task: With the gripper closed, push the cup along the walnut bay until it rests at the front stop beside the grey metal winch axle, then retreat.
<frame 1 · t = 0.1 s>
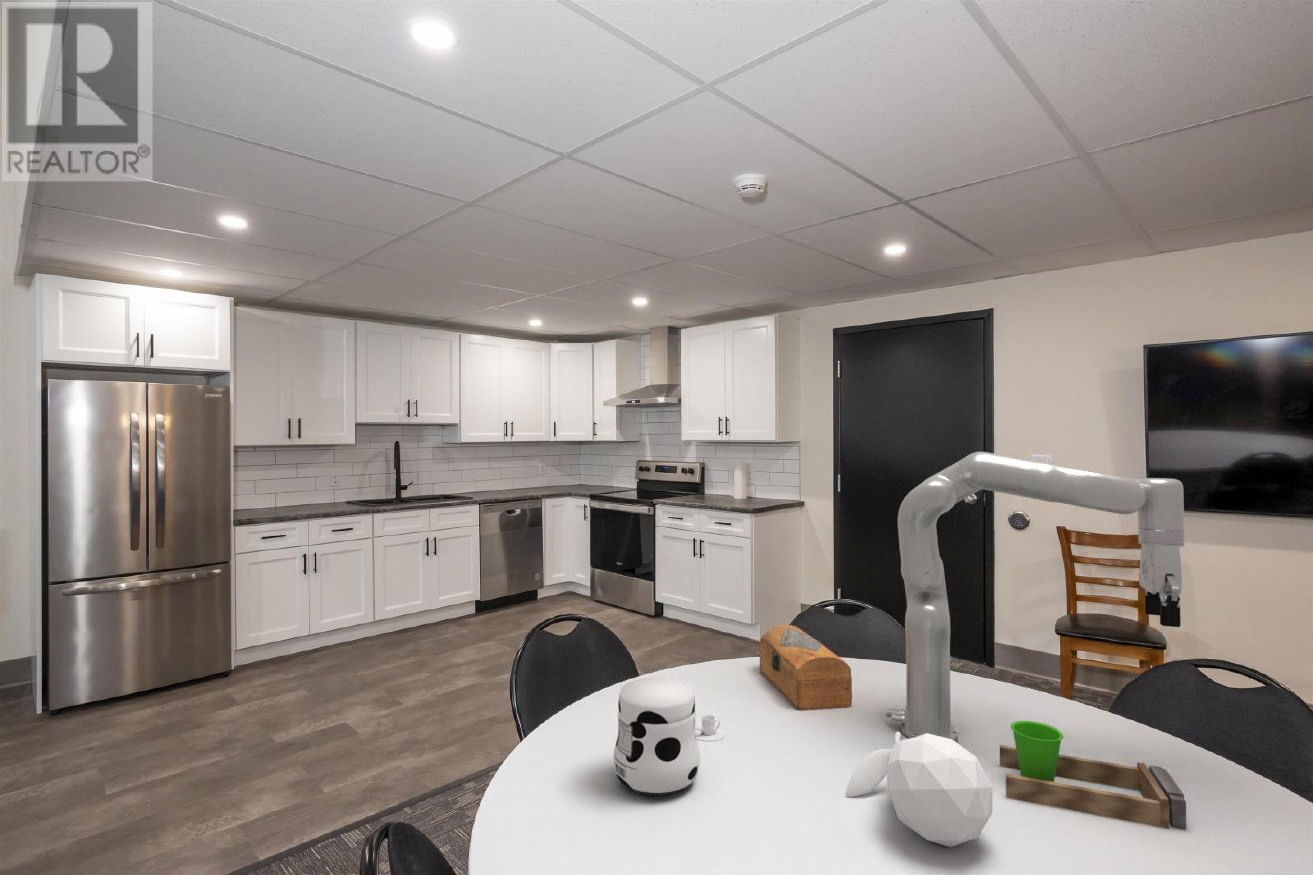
hand: (1162, 620, 133), 31 cm above the table, fingers open, 9 cm apart
wooden box: (800, 689, 180), on the table
bay: (1072, 792, 125), on the table
milk container: (656, 781, 129), on the table
cup: (1037, 787, 127), on the table
teacup and saucer: (700, 731, 153), on the table
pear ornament: (916, 820, 116), on the table
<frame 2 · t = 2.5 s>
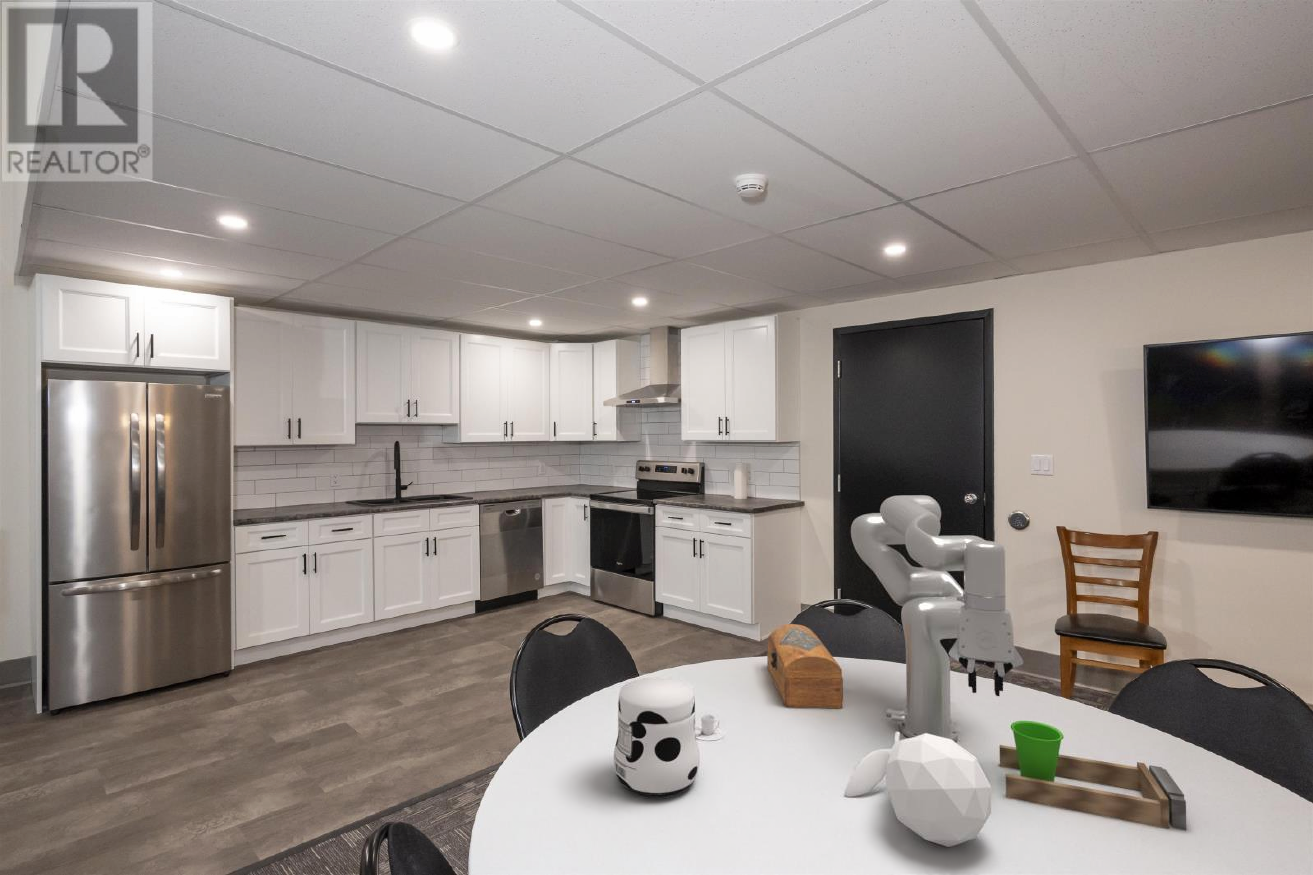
hand: (985, 691, 131), 17 cm above the table, fingers open, 3 cm apart
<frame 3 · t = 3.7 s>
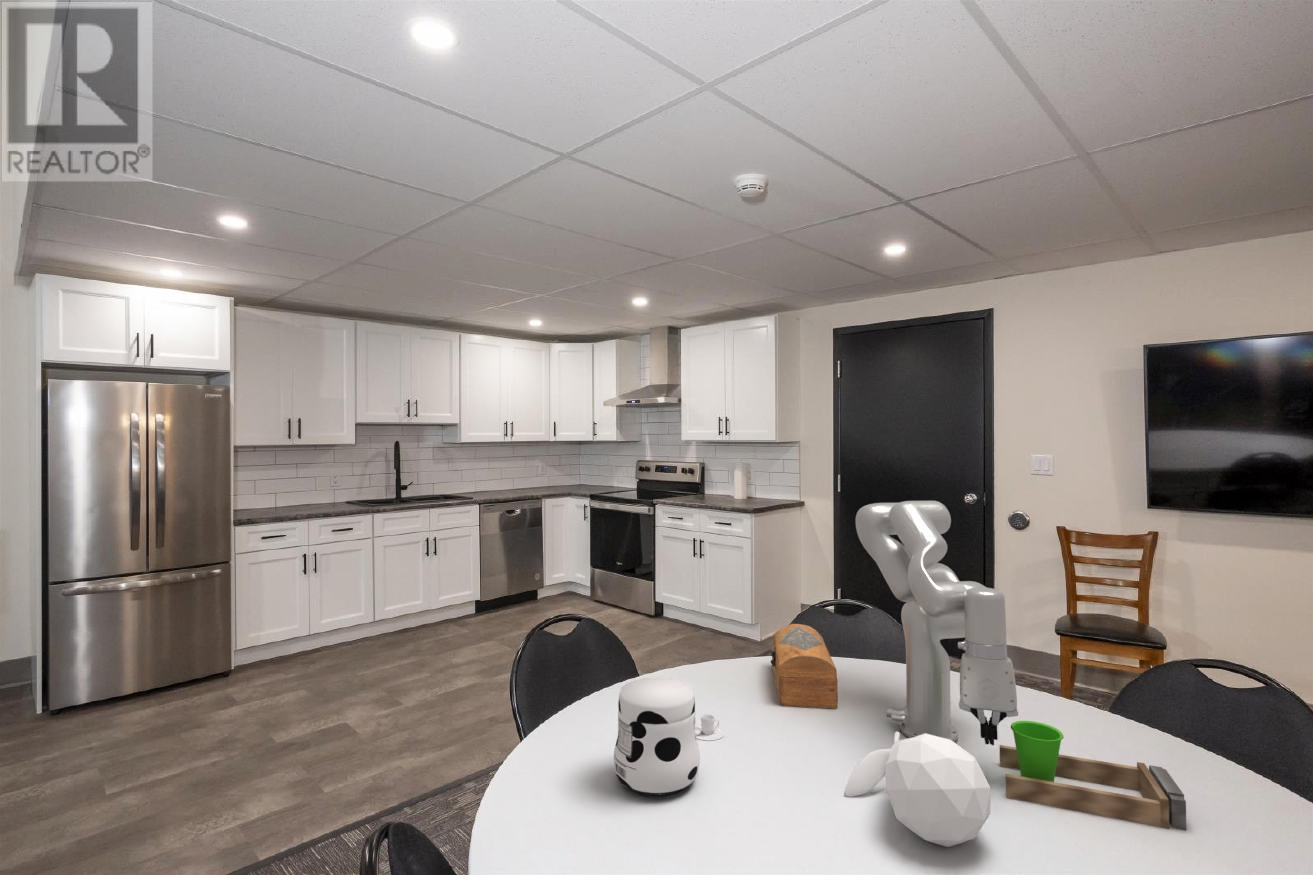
hand: (989, 742, 130), 7 cm above the table, fingers closed
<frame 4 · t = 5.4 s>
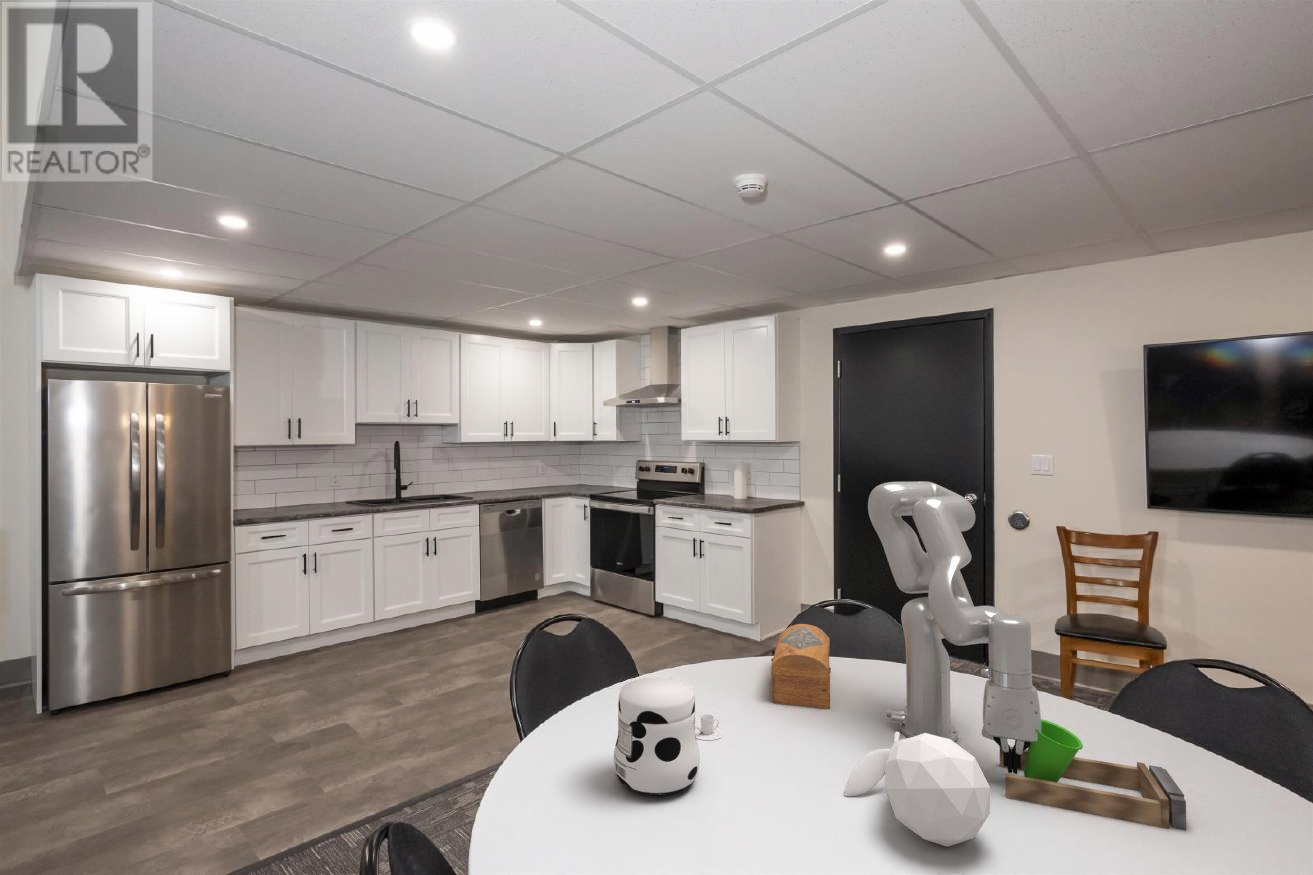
hand: (1012, 770, 129), 2 cm above the table, fingers closed
cup: (1037, 783, 127), point 1 cm above the table, touching gripper
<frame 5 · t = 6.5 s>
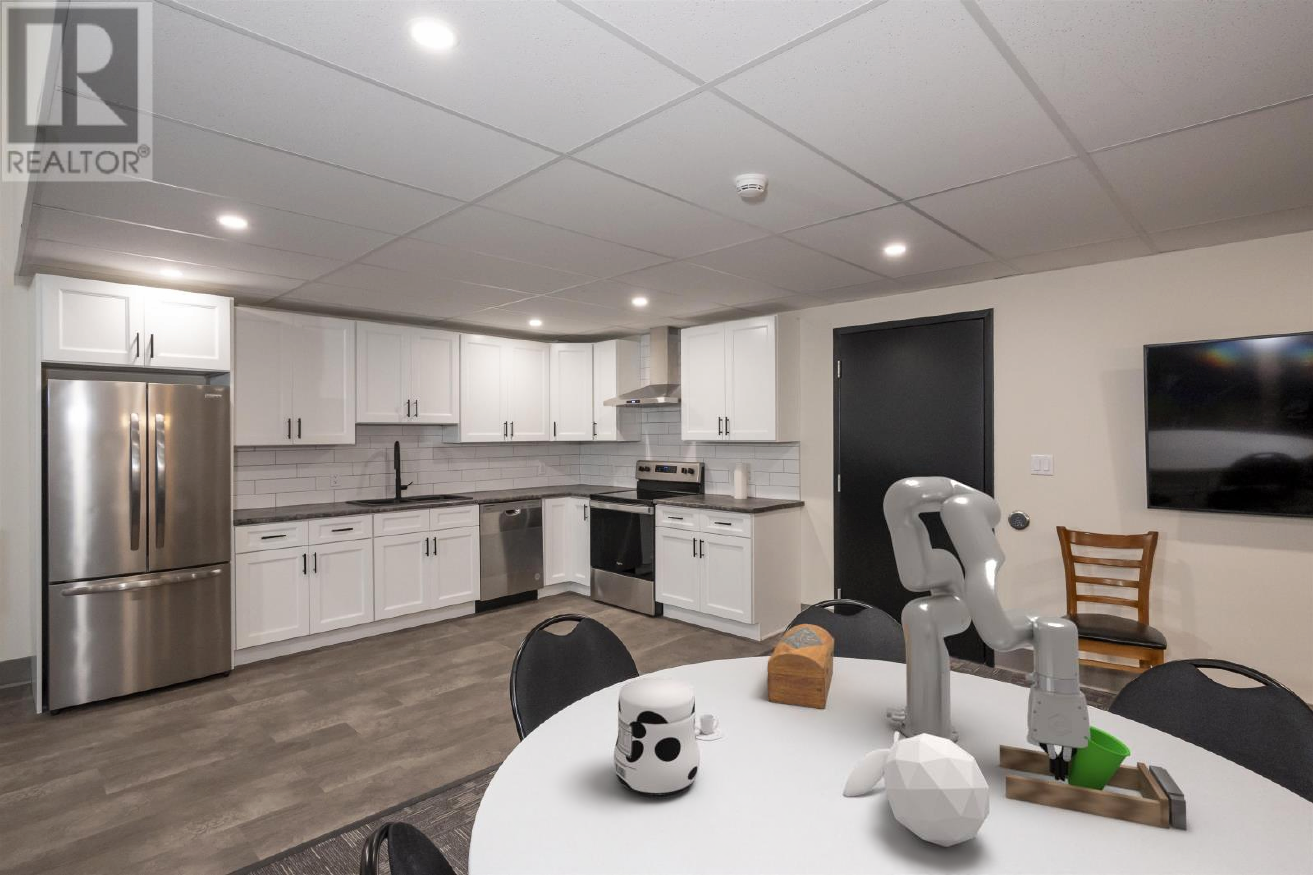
hand: (1059, 777, 125), 3 cm above the table, fingers closed
cup: (1081, 789, 124), point 1 cm above the table, touching gripper
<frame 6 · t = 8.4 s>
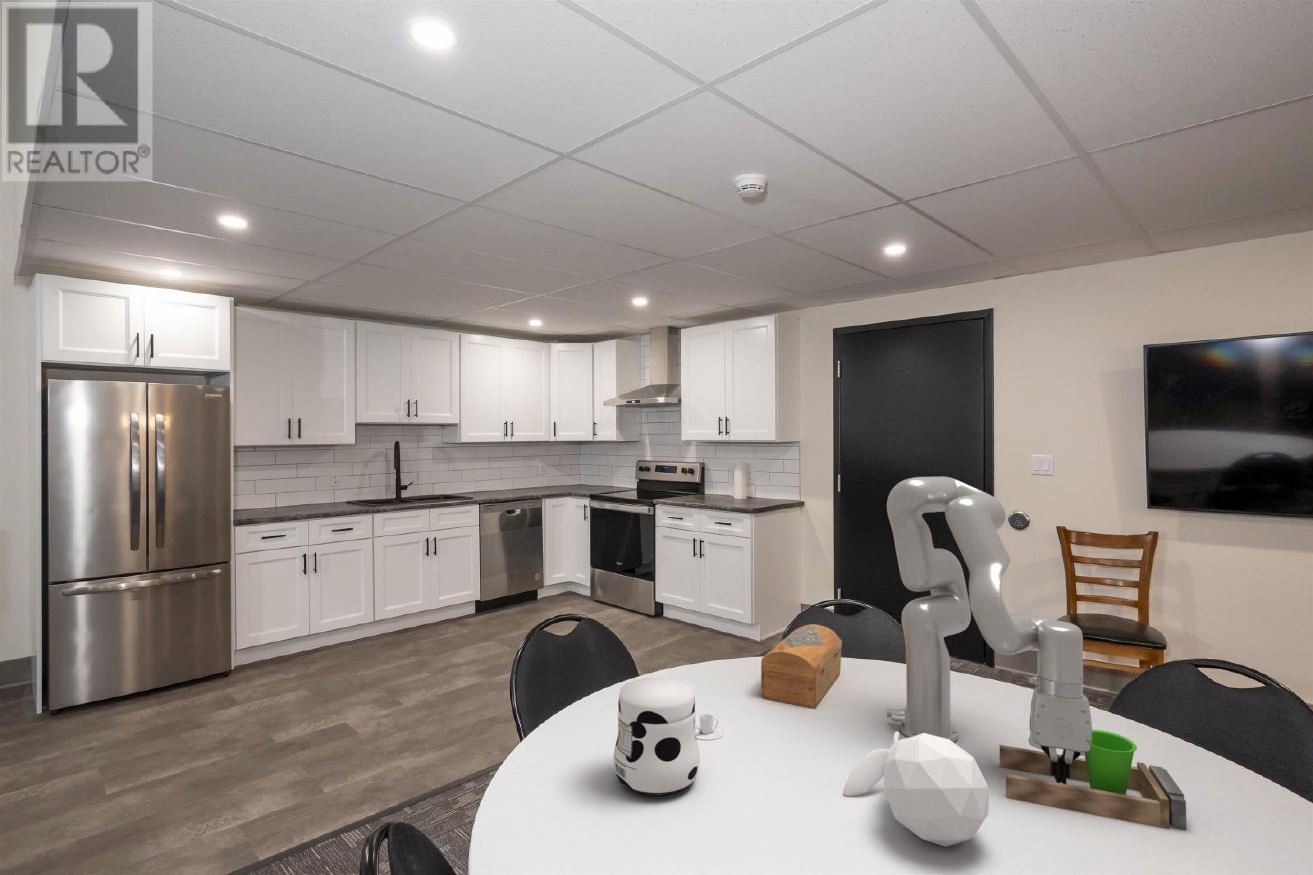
hand: (1060, 780, 126), 2 cm above the table, fingers closed
cup: (1107, 798, 123), on the table
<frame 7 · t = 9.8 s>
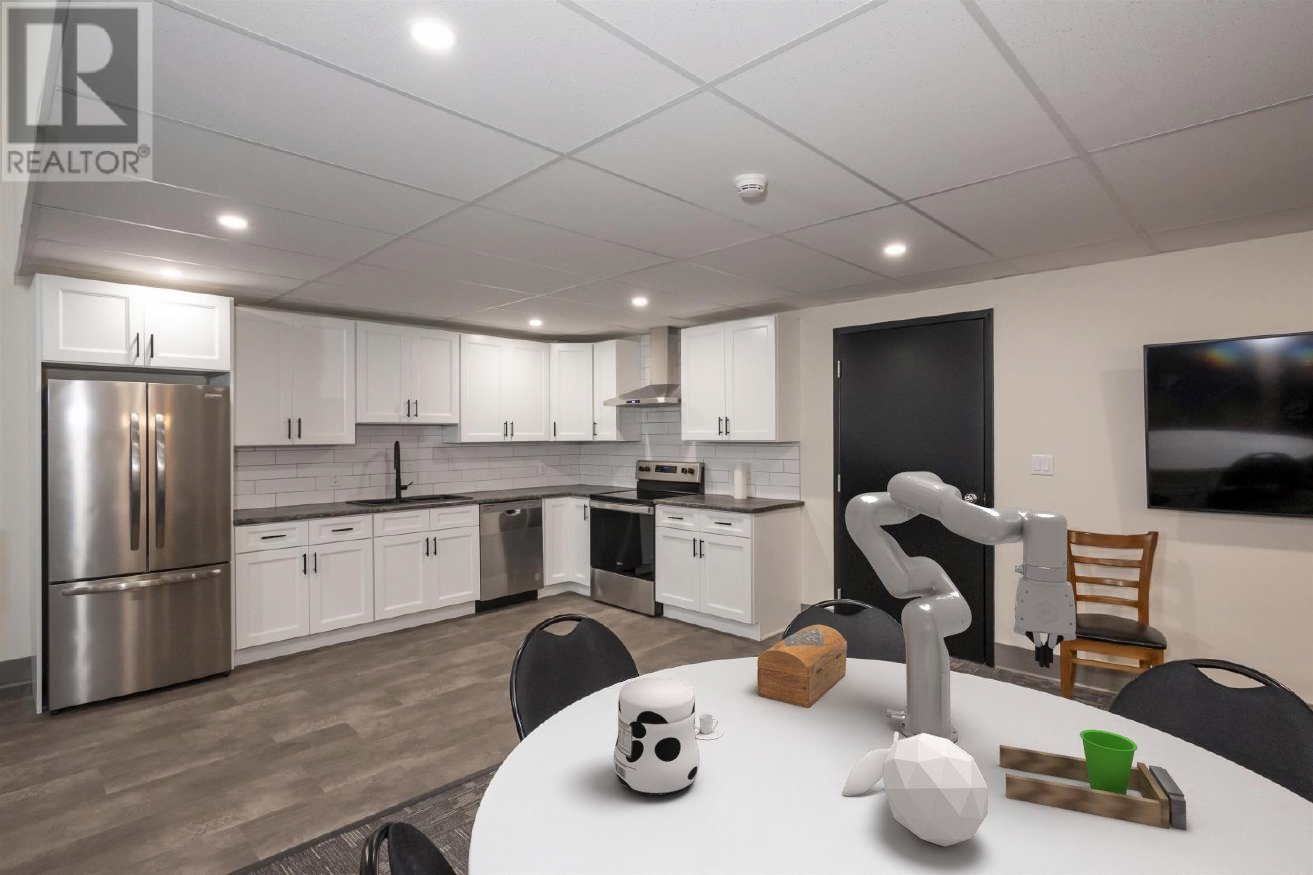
hand: (1043, 665, 128), 24 cm above the table, fingers closed
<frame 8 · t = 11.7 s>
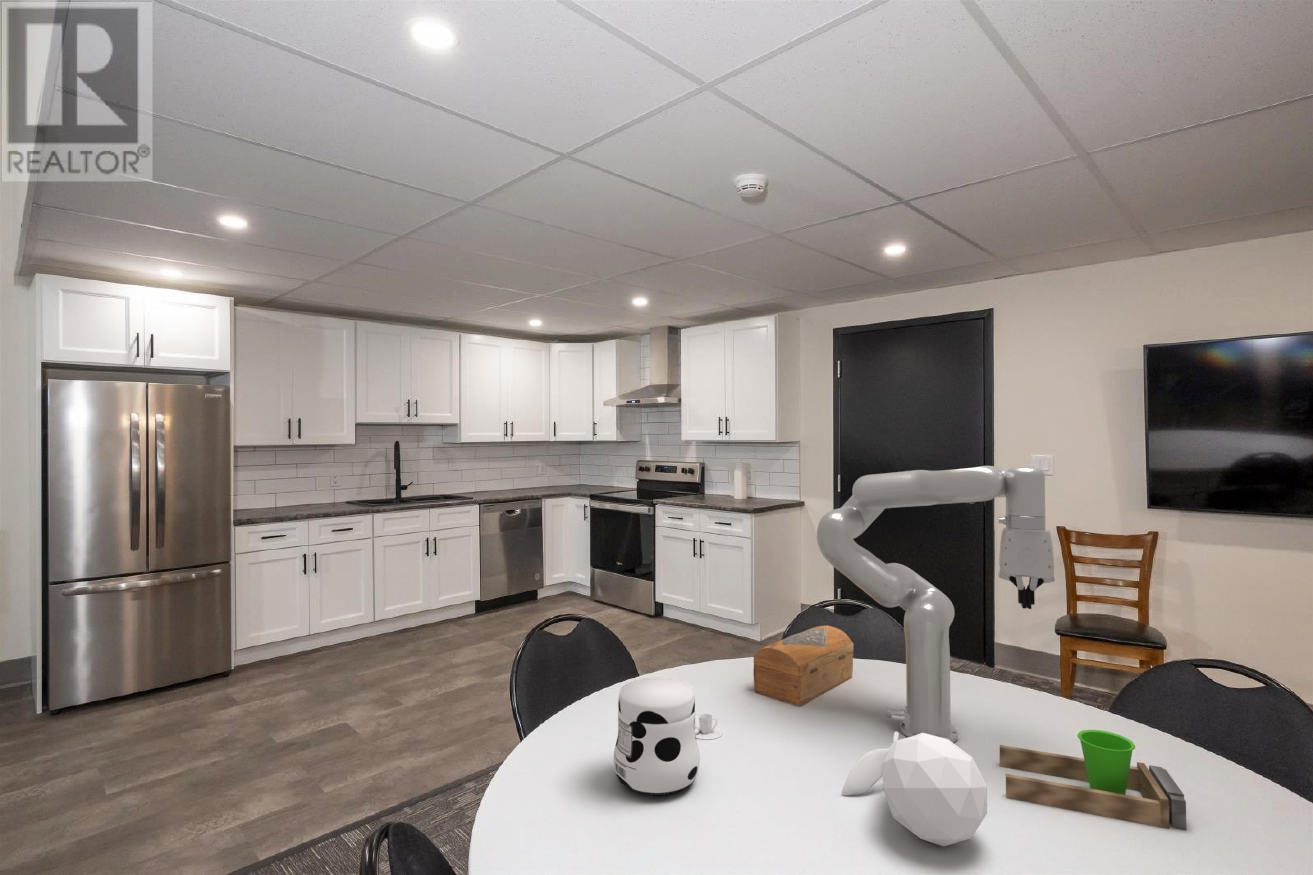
hand: (1026, 607, 141), 32 cm above the table, fingers closed
at the end: cup inside the target area on the bay (1.8 cm from its centre), point 0.0 cm above the bay's base; cup tilted 1° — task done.
